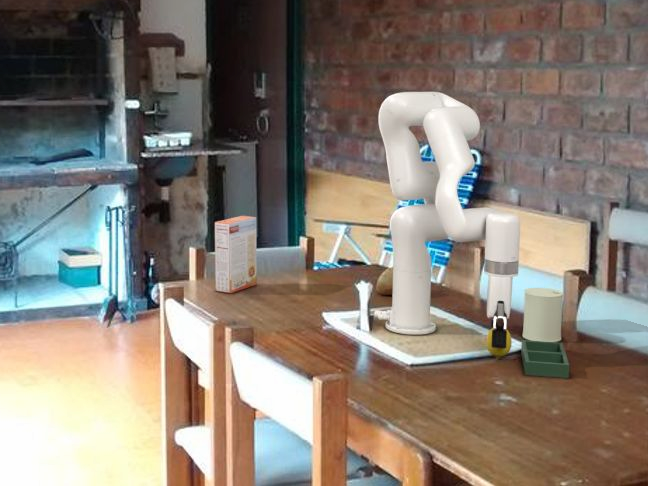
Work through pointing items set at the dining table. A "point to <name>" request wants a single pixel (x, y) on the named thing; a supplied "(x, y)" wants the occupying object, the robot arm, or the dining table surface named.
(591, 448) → the dining table surface
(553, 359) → the holder
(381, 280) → the bread roll
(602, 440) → the dining table surface
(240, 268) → the cracker box
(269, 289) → the dining table surface
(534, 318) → the can
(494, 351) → the lemon
